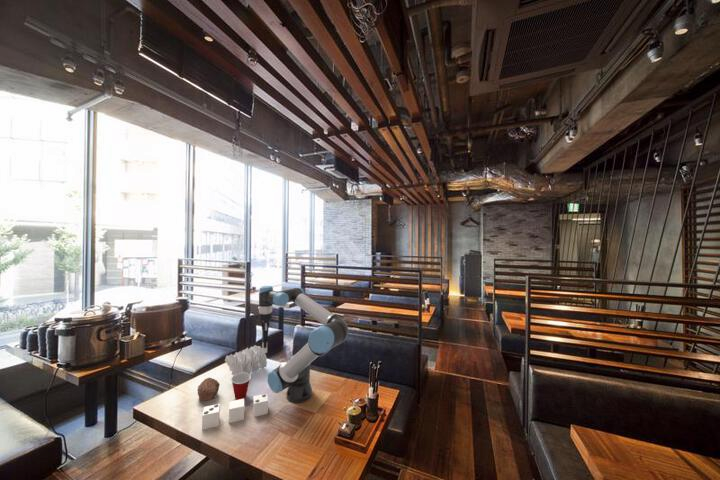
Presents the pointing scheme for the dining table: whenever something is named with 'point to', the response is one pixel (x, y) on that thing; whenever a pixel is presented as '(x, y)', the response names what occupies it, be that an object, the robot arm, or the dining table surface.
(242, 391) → the plastic cup
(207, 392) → the coconut
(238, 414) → the blank block
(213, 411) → the block three pips
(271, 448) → the dining table surface
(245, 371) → the white ruffled irregular piece
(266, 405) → the block two pips
